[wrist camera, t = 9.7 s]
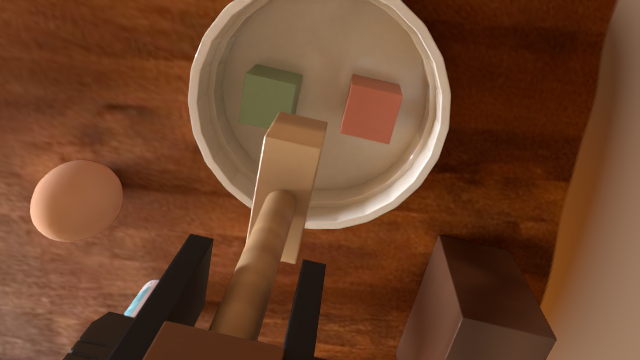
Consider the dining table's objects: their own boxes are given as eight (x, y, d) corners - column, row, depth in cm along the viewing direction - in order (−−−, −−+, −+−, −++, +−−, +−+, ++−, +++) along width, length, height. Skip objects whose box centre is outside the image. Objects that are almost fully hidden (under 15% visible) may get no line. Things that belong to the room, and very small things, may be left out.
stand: (510, 250, 45) (557, 339, 34) (459, 366, 51) (484, 473, 40) (438, 234, 45) (462, 317, 34) (395, 351, 51) (404, 455, 40)
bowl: (471, 3, 37) (489, 8, 31) (402, 218, 45) (407, 252, 39) (227, -54, 37) (203, -59, 31) (201, 171, 44) (178, 199, 39)
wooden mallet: (274, 109, 24) (103, 367, 8) (333, 122, 24) (275, 406, 8) (256, 213, 26) (97, 564, 11) (309, 225, 26) (229, 594, 11)
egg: (111, 136, 44) (53, 173, 36) (151, 197, 46) (105, 245, 38) (55, 164, 46) (-13, 205, 37) (97, 221, 48) (41, 272, 40)
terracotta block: (399, 84, 39) (403, 95, 35) (387, 129, 41) (389, 144, 37) (352, 73, 39) (351, 83, 35) (341, 119, 41) (339, 133, 37)
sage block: (303, 74, 39) (296, 84, 36) (294, 119, 41) (287, 133, 37) (256, 63, 39) (245, 72, 36) (249, 109, 41) (237, 122, 37)
